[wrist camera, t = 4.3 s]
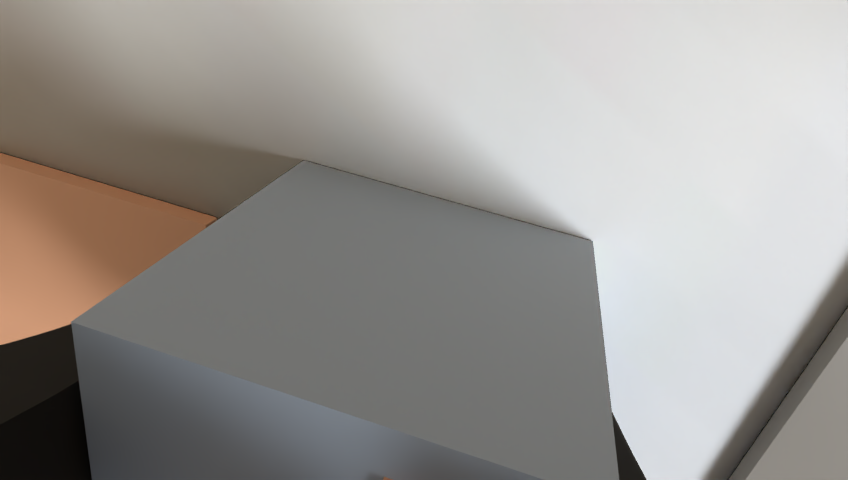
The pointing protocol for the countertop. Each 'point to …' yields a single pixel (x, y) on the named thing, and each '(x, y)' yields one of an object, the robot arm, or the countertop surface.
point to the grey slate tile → (808, 422)
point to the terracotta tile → (75, 243)
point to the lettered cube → (352, 346)
